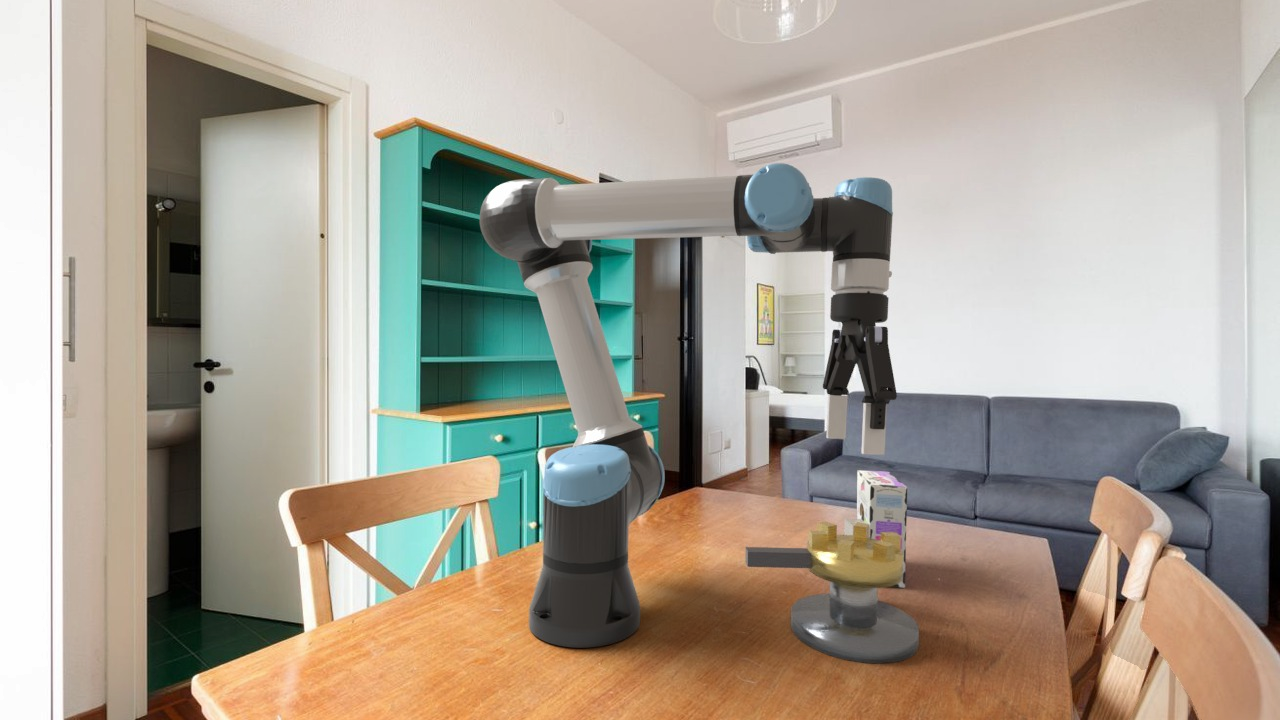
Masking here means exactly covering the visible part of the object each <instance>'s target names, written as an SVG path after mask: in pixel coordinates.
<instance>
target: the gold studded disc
mask: <svg viewBox="0 0 1280 720" xmlns="http://www.w3.org/2000/svg"><path fill="white" fill-rule="evenodd" d="M837 528H838V526H837V524H835V523H832V522H828V521H821V522H817V530H812V529H811V530H810V529H809V530H808V541H807V543H806V545H807V547H806V548H801V547H768V546H767V547H763V546H762V547H761V546H759V547H758V546H757V547H756V546H755V547H754V546H745V559H744V560H745V561H744V563H745V564H746V566H747V567H748V568H778V569H779V568H784V569H808V571H809V572H810V573H811V574H813V575H814V576H816V577H818V578H821V579H822V580H825V581H827V582H829V583H830V582H834V583H837V584H841V585H846V586H853V587H861V588H878V589H881V588H889V587H890V588H891V586H894V585H896V584H899V583H900V582H901V581H902V579H903V553H902V551H901V550H900V546H901V536H900V535H899V534H897V533H896V532H881V541H880V540H876V539H872V538H869V524H866V523H859V522H857V523H856V524H855V525H854V536H853V535H844V534H837V533H838V532H837Z"/></svg>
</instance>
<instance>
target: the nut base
mask: <svg viewBox="0 0 1280 720" xmlns="http://www.w3.org/2000/svg"><path fill="white" fill-rule="evenodd" d="M857 522H859V523H865V522H864V521H863V520H862V519H857V518H844V525H843V526H844V528H843V529H844V531H843V532H844V534H843V535H853V536H854V525H855V524H856V523H857ZM866 524H867V523H866ZM869 538H870V526H869ZM878 589H879V588H861V587H853V586H846V585H841V584H837V583H834V582H830V581H829V593H818V594H813V595H808V596H804V597H802V598H800V599H798V600H796V601H795V602H794V603H793V604H792V605H791V610H790V628H791V630H792V632H793V634H794V635H795V637H796V638H797V639H798V640H799V641H800V642H802V643H803V644H805V645H806V646H809V647H810V648H812V649H813V650H816V651H818V652H820V653H822V654H826V655H829V656H830V657H834V658H836V659H841V660H844V661H845V660H846V661H850V662H856V663H865V664H890V663H898V662H901V661H905V660H908V659H910V658H911V657H913V656H914V655H915V654H916V653H917V652H918V650H919V643H920V629H919V625H918V622H917V621H916V620H915V619H914V618H913V617H912V616H911V615H909V614H908V613H906V611H903V610H902V609H900V608H898V607H896V606H893V605H892V604H889V603H887V602H883V601H881V600H878V591H879V590H878Z"/></svg>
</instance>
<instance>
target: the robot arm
mask: <svg viewBox="0 0 1280 720" xmlns="http://www.w3.org/2000/svg"><path fill="white" fill-rule="evenodd" d="M893 214H894V211H893V189H892V186H891V183H889V182H888V181H886V180H885V179H883V178H878V177H872V176H871V177H869V176H867V177H865V176H863V177H856V178H853V179H851V178H850V179H845V180H843V181H841V182H840V183H838V184H837V185H836V188H835V193H834V195H833V196H829V197H819V198H818V197H817V198H816V197H815V198H814V195H813V193H812V187H811V186H810V183H809V182H808V180H807V178H806V176H805V175H804V174H803V173H802V172H801V171H800V170H799V169H798V168H796V167H795V166H793V165H791V164H789V163H784V162H783V163H782V162H780V163H779V162H776V163H770V164H768V165H765V166H764V167H762V168H760V169H759V170H758V171H756V172H755V173H753V174H741V175H729V176H728V175H727V176H710V177H709V176H707V177H706V176H705V177H692V178H691V177H688V178H672V179H669V178H667V179H651V180H649V179H648V180H632V181H615V182H614V181H612V182H593V183H576V184H575V183H572V184H560V182H558V180H556V179H554V178H553V177H542V178H539V177H538V178H526V179H524V178H522V179H513V180H509V181H506V182H502V183H501V184H499V185H496V186H495V187H494V188H493V189H491V190H490V191H489V193H488V194H487V195H486V197H485V198H484V200H483V202H482V204H481V207H480V213H479V227H480V232H481V234H482V235H483V238H484V240H485V242H486V243H487V245H488V246H489V247H490V248H491V249H492V251H494V252H495V253H497V254H499V256H501V257H503V258H506V259H508V260H511V261H513V262H517V264H518V268H519V271H520V275H521V277H522V281H523V286H524V287H525V288H526V289H527V290H529V291H531V292H533V293H535V295H536V296H537V300H538V303H539V306H540V309H541V312H542V316H543V319H544V322H545V327H546V329H547V334H548V336H549V340H550V343H551V346H552V350H553V353H554V356H555V360H556V363H557V366H558V370H559V372H560V377H561V381H562V384H563V387H564V390H565V394H566V396H567V399H568V403H569V406H570V410H571V414H572V416H573V419H574V423H575V426H576V430H577V437H576V439H575V441H574V443H573V446H569V447H566V448H562V449H559V450H558V451H555V452H554V453H552V454H551V455H550V456H548V458H547V460H546V462H545V466H544V472H543V473H544V475H543V479H542V491H543V492H542V493H543V498H542V500H543V501H542V503H543V508H542V510H543V511H542V512H543V513H542V515H543V516H542V517H543V519H542V522H543V523H542V524H543V525H542V539H543V540H542V567H541V572H540V573H539V574H540V575H539V577H538V580H537V582H536V586H535V589H534V592H533V594H532V598H531V602H530V604H529V609H528V610H529V611H528V627H529V631H530V632H531V633H532V634H533V635H534V636H535V637H536V638H538V639H540V640H542V641H543V642H546V643H549V644H551V645H554V646H555V645H556V646H559V647H564V648H565V647H567V648H575V649H576V648H577V649H579V648H580V649H581V648H597V647H602V646H607V645H612V644H615V643H618V642H620V641H624V640H625V639H627V638H629V637H630V636H632V635H634V633H635V632H636V631H637V630H638V628H639V627H640V625H641V603H640V600H639V596H638V594H637V590H636V587H635V583H634V580H633V577H632V574H631V570H630V567H629V531H630V530H629V526H630V524H631V523H632V522H634V521H635V520H636V519H637V518H638V517H641V516H643V515H644V514H646V513H647V512H648V511H650V510H651V508H652V507H653V506H654V505H655V504H656V502H657V500H658V499H659V498H660V495H661V494H662V491H663V489H664V486H665V478H666V477H665V475H666V474H665V466H664V464H663V461H662V459H661V457H660V456H659V454H658V452H657V451H656V450H655V449H654V448H653V447H652V446H650V445H649V444H648V440H647V438H646V435H645V432H644V429H643V425H642V424H640V423H638V422H636V421H634V420H632V418H631V417H630V415H629V411H628V409H627V405H626V402H625V399H624V396H623V392H622V389H621V386H620V385H621V384H620V383H619V379H618V375H617V373H616V369H615V366H614V362H613V359H612V357H611V354H610V350H609V347H608V346H609V345H608V342H607V339H606V337H605V333H604V330H603V327H602V324H601V320H600V318H599V317H600V316H599V314H598V311H597V307H596V304H595V301H594V297H593V295H592V292H591V287H590V285H589V282H588V279H589V276H590V275H591V273H592V271H593V270H594V267H593V264H592V263H593V262H592V261H591V257H590V253H591V251H592V248H593V247H592V246H593V240H595V241H596V240H628V239H630V240H633V239H662V238H663V239H664V238H665V239H666V238H667V239H669V238H670V239H671V238H674V239H675V238H704V237H705V238H706V237H746V239H747V246H748V248H749V249H750V250H751V251H752V252H753V253H767V254H768V253H769V254H770V255H776V253H777V254H778V253H782V254H783V253H803V252H804V253H813V252H815V253H816V252H818V253H819V252H822V253H825V252H832V256H833V257H832V261H831V263H832V264H831V279H830V282H831V283H830V290H831V291H832V292H834V294H833V295H832V296H831V297H830V312H829V313H830V314H829V317H830V320H831V321H833V322H835V323H842V325H841V329H833V330H832V332H831V333H832V335H831V345H830V350H829V355H828V360H827V364H826V369H825V374H824V377H823V383H822V388H823V390H826V394H827V395H828V397H827V409H826V411H827V415H826V435H825V437H826V439H831V440H833V439H834V440H846V439H847V419H848V400H849V399H848V396H850V391H849V389H848V386H849V384H850V380H851V379H852V375H853V372H854V370H855V367H856V365H857V369H858V371H859V375H860V376H859V377H860V379H861V383H862V387H863V391H864V393H865V394H864V396H863V397H862V400H861V403H862V404H863V407H862V428H861V430H862V431H861V450H860V451H861V452H860V453H861V454H862V455H872V456H873V455H877V456H885V454H886V453H885V452H886V451H885V450H886V432H887V431H886V429H887V412H888V411H887V409H888V407H887V406H888V405H889V404H890V401H895V400H897V397H898V395H897V389H896V382H895V378H894V377H895V376H894V373H893V371H894V370H893V366H892V359H891V354H890V348H889V328H888V326H876V324H879V323H882V324H883V323H885V322H887V320H888V318H889V297H888V295H887V294H884V293H885V292H888V290H889V286H890V285H889V284H890V278H891V277H892V275H893V272H892V270H890V266H891V265H890V264H891V263H890V262H891V247H892V232H893V231H892V229H893V217H894V215H893Z"/></svg>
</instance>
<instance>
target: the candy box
mask: <svg viewBox="0 0 1280 720" xmlns="http://www.w3.org/2000/svg"><path fill="white" fill-rule="evenodd" d="M856 471H857V472H856V519H862V520H863V521H864V522H865V523H867V524H869V526H870V538H872V539H876V540H880V541H881V532H896V533H897V534H899V535H900V536H901V546H900V550H901V551H902V553H903V579H902V581H901V582H900V583H899V584H896V585H894V586H890V588H891V587H892V588H902V589H903V588H906V563H907V561H906V560H907V559H906V555H907V552H906V551H907V547H906V546H907V520H908V517H907V513H908V510H907V509H908V486H906V485H905V484H904V483H902V482H901V481H900V480H899V479H897V477H895V476H894V475H893V474H892V473H891V472H890V471H883V470H882V471H880V470H879V471H878V470H856Z"/></svg>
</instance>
